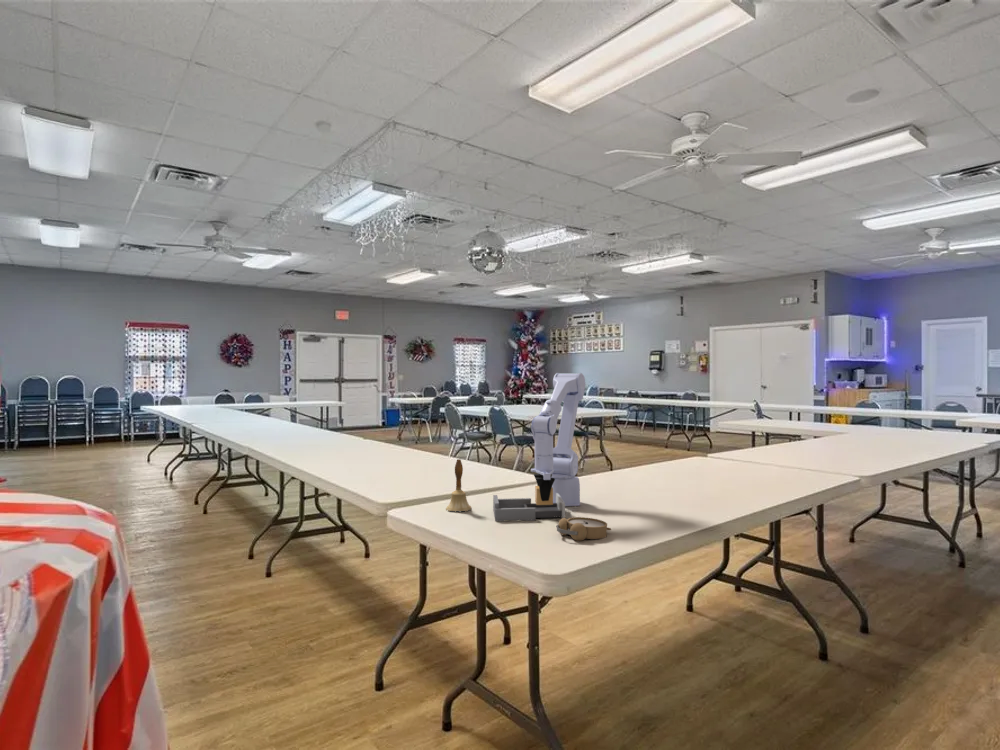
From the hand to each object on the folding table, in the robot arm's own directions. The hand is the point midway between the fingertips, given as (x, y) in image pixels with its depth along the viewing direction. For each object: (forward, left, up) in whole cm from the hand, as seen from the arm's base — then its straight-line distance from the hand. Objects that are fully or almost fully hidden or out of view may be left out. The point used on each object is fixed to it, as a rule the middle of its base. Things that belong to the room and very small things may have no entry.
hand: (544, 498), depth 175 cm
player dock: (+9, 0, -5) cm, 11 cm away
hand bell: (+26, -9, -5) cm, 28 cm away
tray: (0, 0, -5) cm, 5 cm away
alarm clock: (-7, +22, -5) cm, 23 cm away
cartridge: (0, 0, -1) cm, 1 cm away
